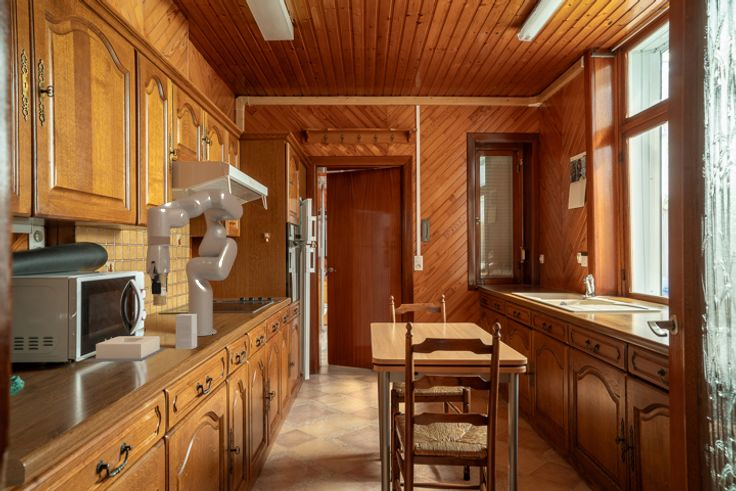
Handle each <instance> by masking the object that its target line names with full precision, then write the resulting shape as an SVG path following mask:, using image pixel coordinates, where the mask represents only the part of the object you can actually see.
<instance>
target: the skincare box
mask: <svg viewBox="0 0 736 491" xmlns="http://www.w3.org/2000/svg"><path fill="white" fill-rule="evenodd" d="M197 347H198V336H197V314H188V313H179V314H175V349H176V350H178V349H179V350H192V349H196V348H197Z"/></svg>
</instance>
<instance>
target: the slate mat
mask: <svg viewBox="0 0 736 491" xmlns="http://www.w3.org/2000/svg"><path fill="white" fill-rule="evenodd" d="M167 349H169V348H168V347H164V348H163V347H160V349H159V350H157V351H155V352H153V353H151V354H149V355H147V356H145V357H143V358H125V359H96V355H95V356H92V357H90V358H88V359H84V360H83V361H82V363H89V362H90V363H93V362H96V363H97V362H98V363H99V362H100V363H101V362H104V363H105V362H106V363H107V362H111V363H112V362H115V363H116V362H129V363H130V362H144V361H146V360H147V359H149V358H151V357H154V356H155V355H158V354H159V353H161V352H163V351H165V350H167Z"/></svg>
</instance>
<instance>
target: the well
mask: <svg viewBox="0 0 736 491" xmlns="http://www.w3.org/2000/svg"><path fill="white" fill-rule="evenodd" d="M160 340H161V338H160V336H159V335H156V336H154V335H153V336H152V335H150V336H149V335H148V336H147V335H143V336H142V335H141V336H139V335H137V336H136V335H135V336H134V335H133V336H132V335H131V336H129V335H127V336H123V335H122V336H121V335H119V336H116V337H113V338H110V339H107V340H105V341H104V340H103V341H102V342H98V343H95V356H96V359H125V358H143V357H145V356H147V355H149V354H151V353H153V352H155V351H157V350H159V349H160V348H161V347H160V344H161V341H160Z"/></svg>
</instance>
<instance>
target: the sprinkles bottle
mask: <svg viewBox="0 0 736 491" xmlns="http://www.w3.org/2000/svg"><path fill="white" fill-rule="evenodd" d="M154 274H158V272H155V273H154ZM157 278H158V276H157ZM160 283H161V294H152V299H153V300H152V301H153V303H152V306H155V307H156V306H157V307H158V306H159V307H160V306H165V305H167V292H166V269H165V271H164V273H163V274H161V277H160Z"/></svg>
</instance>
